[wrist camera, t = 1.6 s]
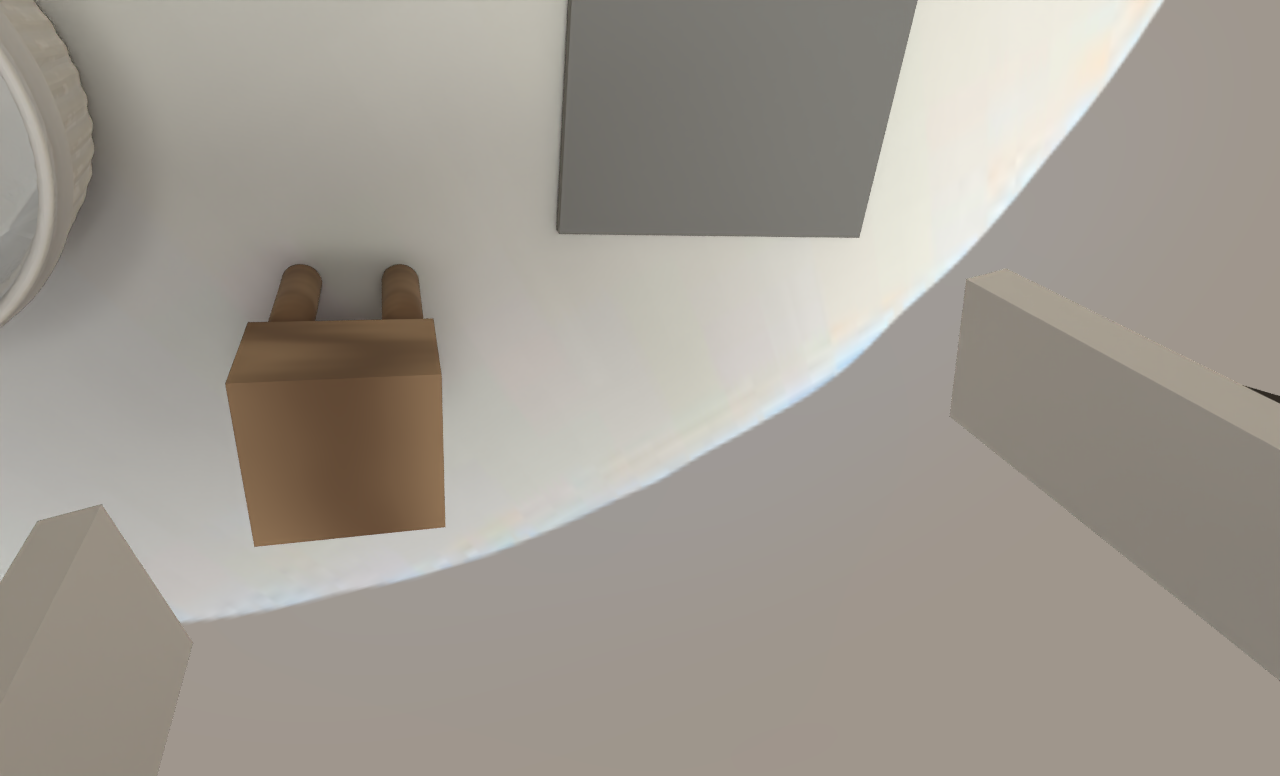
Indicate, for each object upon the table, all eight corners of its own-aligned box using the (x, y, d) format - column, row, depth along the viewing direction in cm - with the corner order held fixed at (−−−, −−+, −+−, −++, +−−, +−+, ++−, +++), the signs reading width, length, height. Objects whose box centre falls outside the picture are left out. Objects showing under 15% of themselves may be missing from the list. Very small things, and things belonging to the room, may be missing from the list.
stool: (289, 387, 30) (254, 546, 22) (271, 257, 28) (225, 383, 20) (428, 380, 32) (445, 526, 24) (424, 258, 30) (441, 374, 21)
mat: (556, 229, 31) (559, 233, 30) (578, -196, 24) (582, -200, 24) (852, 233, 35) (859, 237, 34) (939, -127, 28) (949, -128, 28)
